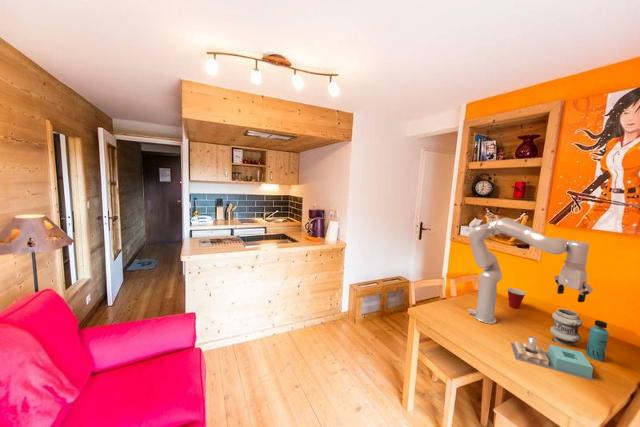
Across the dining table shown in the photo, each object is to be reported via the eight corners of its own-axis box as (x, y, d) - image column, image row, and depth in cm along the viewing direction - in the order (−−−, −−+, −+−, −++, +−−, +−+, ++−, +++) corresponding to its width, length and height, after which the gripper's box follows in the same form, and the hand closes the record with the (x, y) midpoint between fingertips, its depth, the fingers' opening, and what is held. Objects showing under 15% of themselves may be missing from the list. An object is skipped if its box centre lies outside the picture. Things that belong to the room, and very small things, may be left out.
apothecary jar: (549, 334, 150) (554, 304, 148) (579, 343, 141) (584, 312, 139) (547, 342, 141) (552, 311, 139) (578, 353, 133) (584, 320, 131)
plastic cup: (527, 311, 177) (529, 294, 175) (509, 309, 179) (511, 292, 178) (519, 304, 187) (521, 288, 186) (502, 302, 190) (504, 286, 188)
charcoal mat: (515, 362, 125) (515, 359, 125) (510, 345, 138) (510, 342, 138) (595, 384, 112) (596, 381, 112) (581, 363, 125) (581, 361, 125)
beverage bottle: (581, 355, 131) (587, 318, 129) (593, 355, 132) (599, 318, 130) (595, 364, 125) (602, 325, 123) (608, 364, 125) (615, 325, 123)
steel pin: (527, 355, 128) (529, 338, 127) (525, 352, 130) (527, 335, 129) (535, 358, 126) (537, 340, 125) (533, 354, 129) (536, 337, 128)
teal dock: (555, 368, 119) (556, 358, 119) (547, 353, 130) (549, 344, 129) (591, 378, 114) (593, 367, 113) (580, 362, 124) (581, 352, 124)
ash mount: (518, 357, 126) (519, 353, 126) (514, 345, 136) (515, 341, 135) (548, 365, 121) (548, 360, 121) (541, 352, 131) (542, 348, 130)
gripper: (551, 260, 141) (547, 290, 143) (589, 271, 124) (583, 305, 126) (563, 260, 142) (558, 290, 144) (601, 271, 125) (596, 305, 127)
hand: (570, 297), depth 135 cm, fingers open, 9 cm apart
